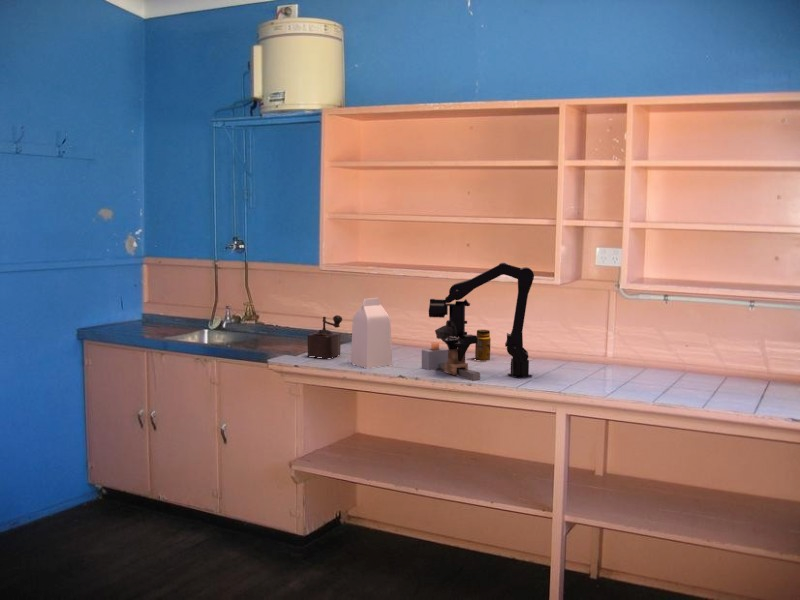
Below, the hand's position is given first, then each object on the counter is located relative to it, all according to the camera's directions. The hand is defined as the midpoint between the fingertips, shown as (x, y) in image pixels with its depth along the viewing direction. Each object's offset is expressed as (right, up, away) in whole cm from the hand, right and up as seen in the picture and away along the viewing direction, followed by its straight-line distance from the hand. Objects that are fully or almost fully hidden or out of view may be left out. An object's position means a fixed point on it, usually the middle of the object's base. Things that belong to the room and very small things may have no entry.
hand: (456, 360), depth 295 cm
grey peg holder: (-7, -4, +12) cm, 15 cm away
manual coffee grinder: (-50, -2, +34) cm, 60 cm away
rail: (+1, -5, -1) cm, 5 cm away
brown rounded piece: (-7, +3, +12) cm, 14 cm away
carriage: (0, -5, 0) cm, 5 cm away
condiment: (+12, -2, +31) cm, 33 cm away
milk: (-32, -3, +18) cm, 37 cm away
